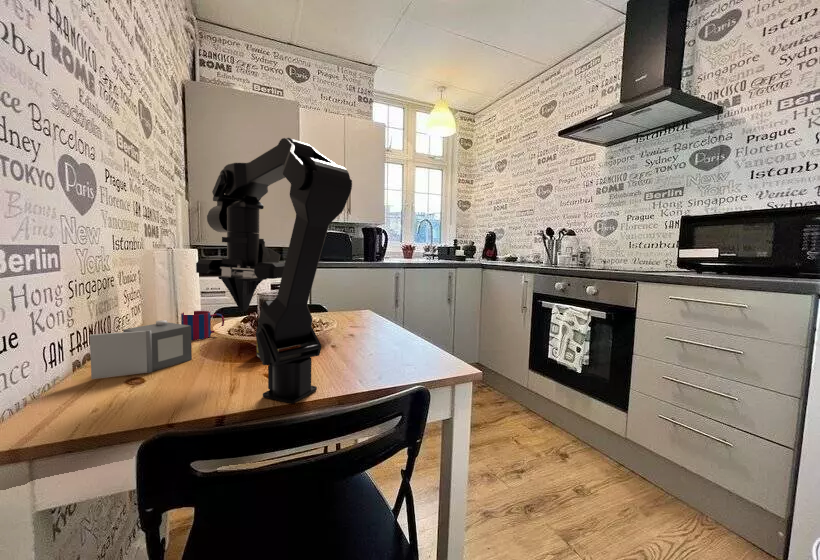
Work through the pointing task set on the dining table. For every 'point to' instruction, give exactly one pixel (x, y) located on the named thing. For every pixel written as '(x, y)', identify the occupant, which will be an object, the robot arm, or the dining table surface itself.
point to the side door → (120, 354)
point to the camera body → (168, 343)
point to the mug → (199, 324)
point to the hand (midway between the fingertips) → (243, 311)
